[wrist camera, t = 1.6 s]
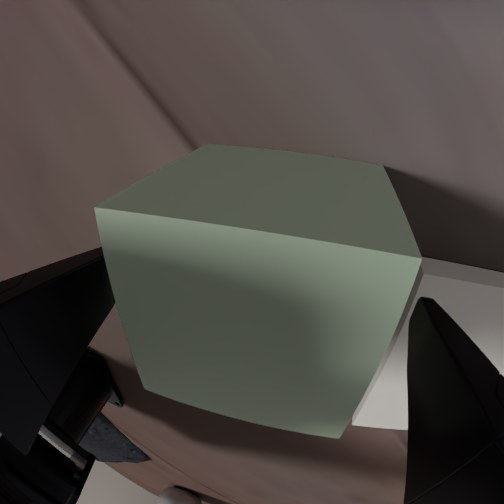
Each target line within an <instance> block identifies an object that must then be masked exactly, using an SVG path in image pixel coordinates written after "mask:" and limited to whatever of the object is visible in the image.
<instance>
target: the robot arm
mask: <svg viewBox="0 0 504 504" xmlns="http://www.w3.org/2000/svg"><path fill="white" fill-rule="evenodd" d="M114 304H115V298H114V294H113V291H112V287H111V283H110V279H109V275H108V271H107V267H106V263H105V258H104V254H103V249H102V247H99V248H96V249H93V250H90V251H87V252H84V253H81V254H78V255H75V256H72V257H69V258H66V259H64V260H61V261H58V262H55V263H52V264H49V265H46V266H43V267H41V268H38V269H35V270H32V271H29V272H28V273H24V274H21V275H18V276H16V277H13V278H10V279H7V280H4V281H1V282H0V504H76V502H77V501H78V498H79V496H80V494H81V491H82V489H83V487H84V484H85V482H86V480H87V477H88V475H89V473H90V470H91V468H92V466H93V463H94V461H95V459H96V456H95V455H93V454H92V453H90V452H87V451H86V450H85V449H83V448H82V447H81V446H79V443H80V442H81V440H82V439H83V437H84V436H85V434H86V433H87V431H88V430H89V428H90V427H91V425H92V424H93V422H94V420H95V419H96V417H97V416H98V414H99V413H100V411H101V410H102V409H103V407H104V406H105V404H106V403H107V402H109V403H111V404H114V405H116V406H118V407H122V406H123V405H124V402H123V400H122V398H121V396H120V394H119V392H118V389H117V387H116V385H115V383H114V381H113V379H112V377H111V375H110V372H109V370H108V368H107V366H106V364H105V362H104V360H103V359H102V358H101V357H99V356H97V355H95V354H92V353H90V352H88V351H86V348H87V346H88V345H89V343H90V342H91V340H92V339H93V337H94V335H95V334H96V332H97V331H98V329H99V328H100V326H101V325H102V323H103V321H104V320H105V318H106V317H107V315H108V314H109V312H110V311H111V309H112V308H113V306H114ZM407 390H408V451H407V471H406V485H405V496H404V504H504V377H503V375H502V374H500V372H499V371H498V369H497V368H496V367H495V366H494V365H493V363H492V362H491V361H490V360H489V359H488V358H487V356H486V355H485V354H484V353H483V352H482V351H481V350H480V348H479V347H478V346H477V345H476V344H475V343H474V342H473V341H472V339H471V338H470V337H469V336H468V335H467V334H466V333H465V332H464V331H463V330H462V328H461V327H460V326H459V325H458V324H457V323H456V322H455V321H454V320H453V319H452V318H451V317H450V316H449V315H448V313H447V312H446V311H445V310H444V309H443V308H442V307H441V306H440V305H439V304H438V303H437V302H436V301H435V300H434V299H433V298H428V297H420V298H419V299H418V300H417V303H416V305H415V308H414V310H413V312H412V315H411V317H410V320H409V325H408V356H407ZM39 430H40V431H41V432H42V433H44V434H45V435H46V436H47V437H48V438H49V439H51V440H52V441H53V442H54V443H56V444H57V445H58V446H59V447H61V448H62V449H63V450H64V451H66V452H67V453H69V454H70V455H71V457H70V458H68V457H67V456H66V455H64V454H63V453H61V452H60V451H59V450H58V449H56V448H55V447H54V446H53V445H51V444H50V443H49V442H48V441H47V440H45V439H44V438H43V437H42V436H41V435H39V434H38V432H39Z"/></svg>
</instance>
